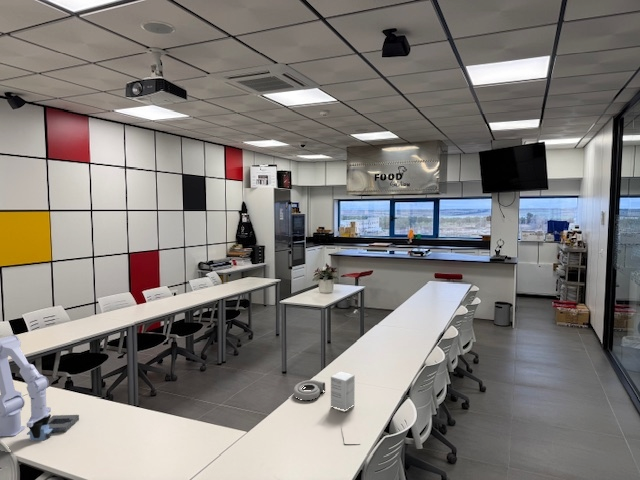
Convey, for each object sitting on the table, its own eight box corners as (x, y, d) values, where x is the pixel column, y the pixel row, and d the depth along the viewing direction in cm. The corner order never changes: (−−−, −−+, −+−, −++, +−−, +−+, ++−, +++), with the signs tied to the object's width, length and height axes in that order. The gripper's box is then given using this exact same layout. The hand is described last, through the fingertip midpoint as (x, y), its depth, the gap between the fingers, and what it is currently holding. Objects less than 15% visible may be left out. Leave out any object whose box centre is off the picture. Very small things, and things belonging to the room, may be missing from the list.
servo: (26, 440, 184) (26, 429, 183) (32, 435, 188) (31, 425, 187) (47, 439, 184) (47, 429, 184) (53, 435, 188) (52, 424, 188)
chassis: (38, 433, 190) (38, 428, 190) (53, 420, 202) (53, 415, 201) (65, 432, 190) (65, 427, 190) (79, 419, 202) (78, 414, 202)
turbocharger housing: (288, 399, 228) (310, 406, 220) (287, 388, 228) (310, 394, 219) (305, 386, 242) (327, 392, 234) (305, 376, 242) (327, 381, 233)
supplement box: (340, 401, 223) (340, 370, 222) (354, 406, 218) (355, 374, 217) (330, 408, 215) (330, 376, 214) (345, 413, 210) (345, 380, 209)
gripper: (38, 412, 178) (39, 443, 179) (57, 397, 192) (58, 426, 193) (21, 413, 178) (22, 443, 178) (41, 398, 192) (42, 426, 193)
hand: (39, 434), depth 186 cm, fingers closed on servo, 4 cm apart
